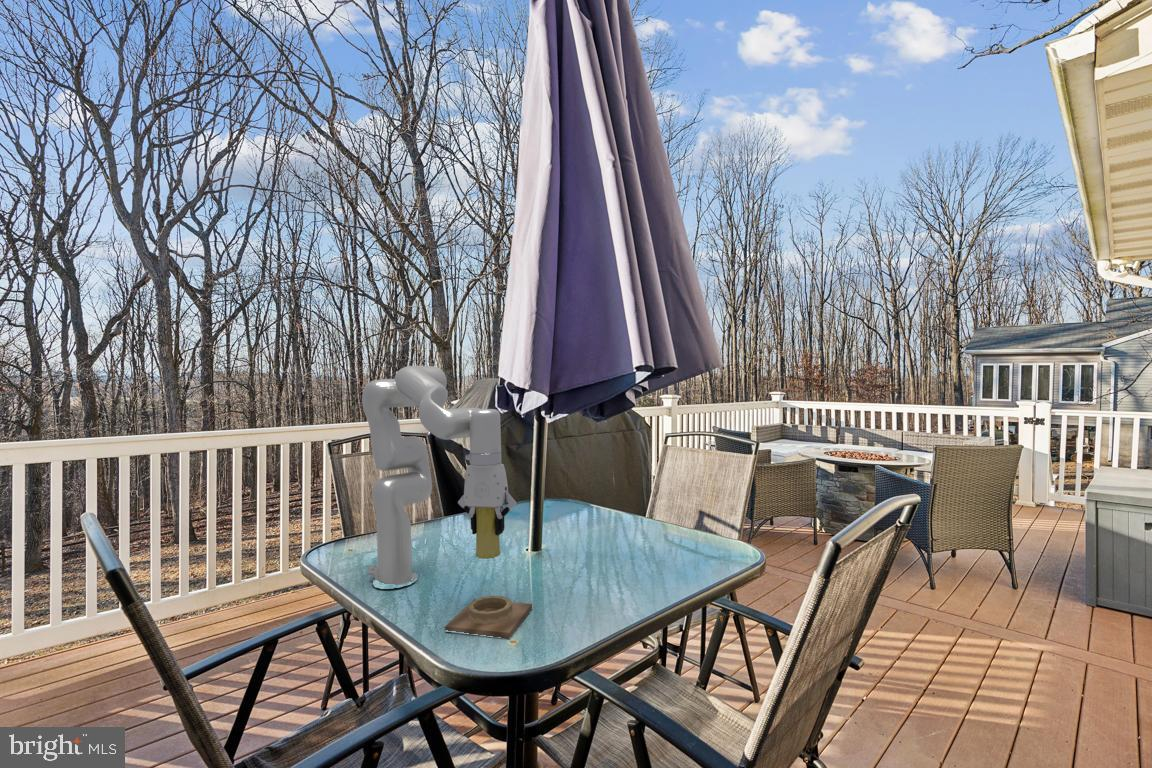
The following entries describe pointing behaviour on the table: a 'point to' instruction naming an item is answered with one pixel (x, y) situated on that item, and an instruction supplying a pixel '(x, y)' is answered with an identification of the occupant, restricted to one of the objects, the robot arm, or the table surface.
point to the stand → (490, 617)
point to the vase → (486, 533)
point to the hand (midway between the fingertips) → (487, 532)
